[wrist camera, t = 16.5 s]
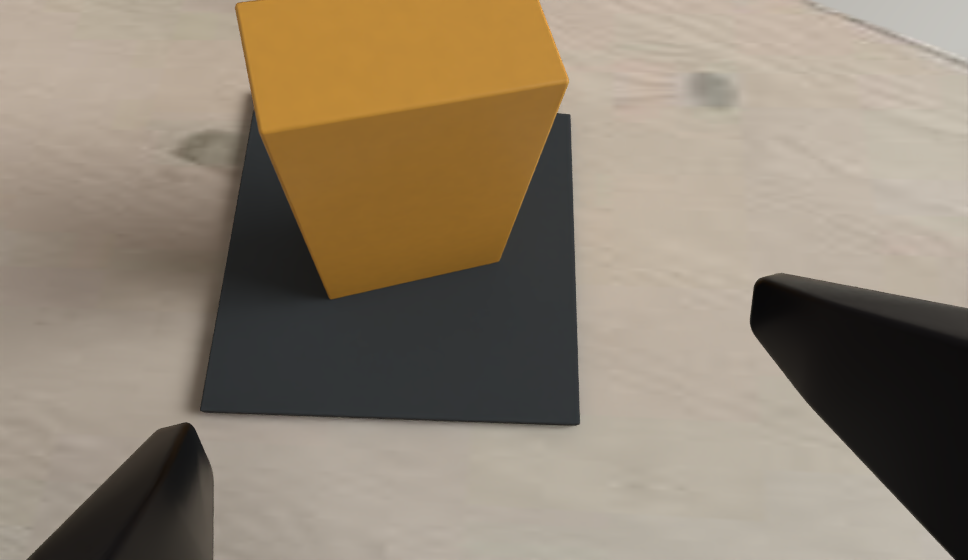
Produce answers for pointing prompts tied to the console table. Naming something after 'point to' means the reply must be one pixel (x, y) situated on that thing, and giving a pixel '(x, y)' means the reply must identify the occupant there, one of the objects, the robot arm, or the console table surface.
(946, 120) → the console table surface
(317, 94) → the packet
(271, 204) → the mat
